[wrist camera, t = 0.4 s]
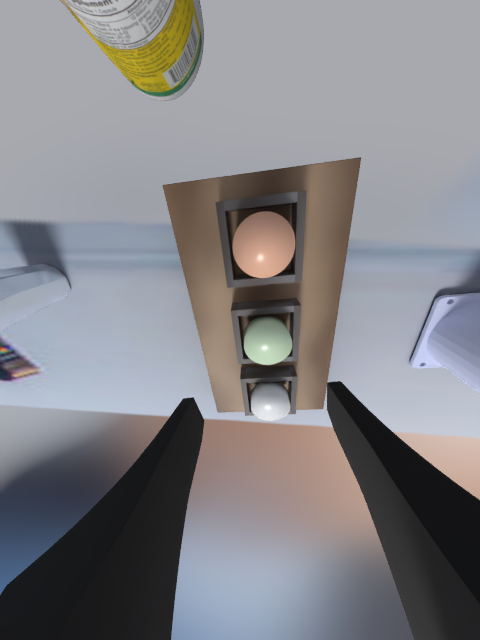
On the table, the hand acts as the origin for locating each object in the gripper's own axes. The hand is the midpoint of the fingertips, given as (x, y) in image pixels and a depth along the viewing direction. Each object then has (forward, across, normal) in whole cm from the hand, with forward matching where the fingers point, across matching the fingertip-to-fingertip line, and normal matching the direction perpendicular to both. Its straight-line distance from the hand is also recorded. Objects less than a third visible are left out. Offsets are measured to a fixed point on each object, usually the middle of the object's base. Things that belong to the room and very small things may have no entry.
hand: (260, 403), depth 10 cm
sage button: (+6, -1, 0) cm, 6 cm away
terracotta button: (+6, -2, -7) cm, 10 cm away
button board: (+9, -1, 0) cm, 9 cm away
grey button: (+6, 0, +7) cm, 9 cm away
